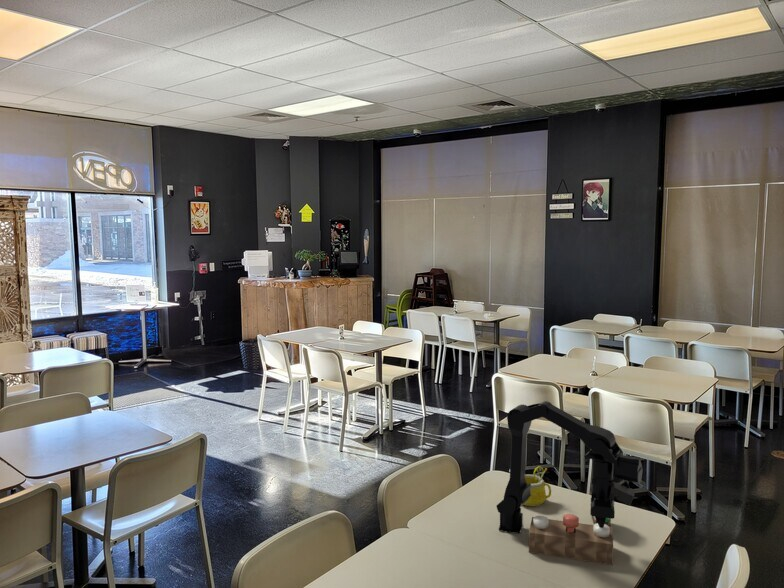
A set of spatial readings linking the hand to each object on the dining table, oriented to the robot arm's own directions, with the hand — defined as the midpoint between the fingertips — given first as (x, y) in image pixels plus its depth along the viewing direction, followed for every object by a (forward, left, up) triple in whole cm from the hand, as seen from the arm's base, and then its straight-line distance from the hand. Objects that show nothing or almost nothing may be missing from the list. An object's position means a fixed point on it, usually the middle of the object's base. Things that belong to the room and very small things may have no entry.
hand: (601, 527), depth 168 cm
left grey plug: (-17, 0, -8) cm, 19 cm away
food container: (+1, +18, -8) cm, 20 cm away
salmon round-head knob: (-8, 0, -6) cm, 10 cm away
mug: (-22, +29, -8) cm, 37 cm away
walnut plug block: (-8, 0, -8) cm, 12 cm away
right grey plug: (0, 0, -8) cm, 8 cm away
